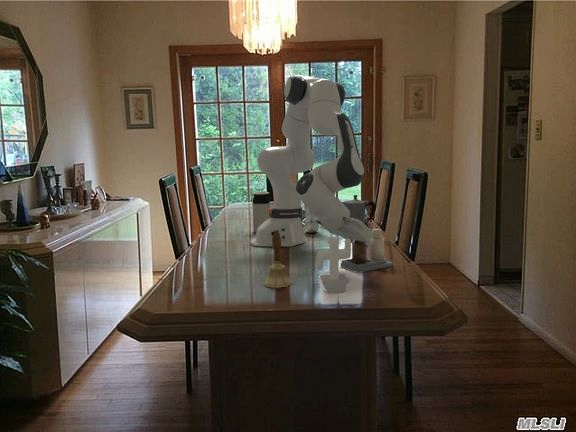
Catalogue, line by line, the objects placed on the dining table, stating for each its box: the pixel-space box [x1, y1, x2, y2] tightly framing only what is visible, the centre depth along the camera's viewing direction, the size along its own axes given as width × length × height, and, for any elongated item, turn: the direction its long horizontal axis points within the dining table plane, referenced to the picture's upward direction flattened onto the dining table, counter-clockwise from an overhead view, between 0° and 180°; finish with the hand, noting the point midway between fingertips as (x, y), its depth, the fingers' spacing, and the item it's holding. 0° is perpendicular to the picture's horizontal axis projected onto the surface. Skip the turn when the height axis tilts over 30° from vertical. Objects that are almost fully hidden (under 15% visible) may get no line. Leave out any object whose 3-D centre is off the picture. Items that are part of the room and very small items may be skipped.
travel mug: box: [251, 191, 271, 233], centre depth 237 cm, size 8×8×18 cm
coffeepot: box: [341, 194, 377, 224], centre depth 217 cm, size 15×9×18 cm, turn 68°
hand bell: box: [263, 230, 293, 289], centre depth 149 cm, size 8×8×16 cm
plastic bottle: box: [303, 203, 319, 234], centre depth 231 cm, size 6×7×20 cm
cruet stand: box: [340, 228, 394, 273], centre depth 167 cm, size 15×9×12 cm, turn 119°
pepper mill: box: [351, 240, 367, 264], centre depth 166 cm, size 5×5×10 cm
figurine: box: [316, 236, 352, 294], centre depth 141 cm, size 7×9×15 cm
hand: (360, 243), depth 166 cm, fingers open, 8 cm apart
